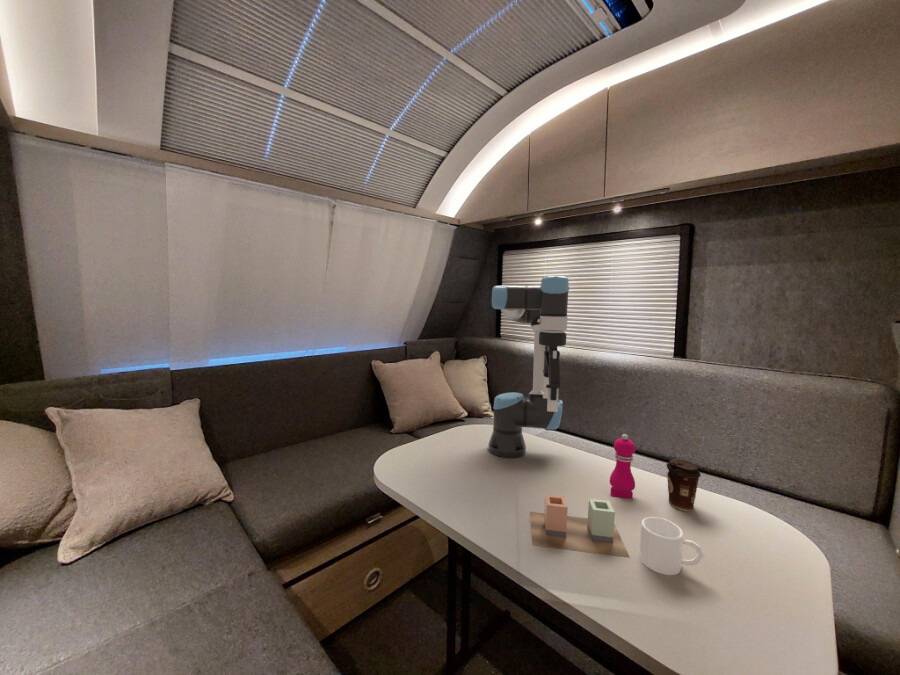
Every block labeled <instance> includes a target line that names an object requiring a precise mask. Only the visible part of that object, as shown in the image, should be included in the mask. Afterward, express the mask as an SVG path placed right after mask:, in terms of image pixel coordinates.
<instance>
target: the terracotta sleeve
mask: <svg viewBox="0 0 900 675" xmlns="http://www.w3.org/2000/svg"><path fill="white" fill-rule="evenodd" d="M568 509H569V508H568V503H567V500H566V497H565V496H562V495H554V494H553V495H552V494H551V495H550V494H544V508H543V510H544V512H543V513H544V528H545V535H548V536H556V537H564V538H566V531H567V516H568Z"/></svg>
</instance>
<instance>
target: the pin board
mask: <svg viewBox="0 0 900 675" xmlns="http://www.w3.org/2000/svg"><path fill="white" fill-rule="evenodd" d="M529 518H530V519H529V520H530V529H531V531H530V532H531V541H532V542H531V543H532V546H536V547H543V548H551V549H552V548H553V549H560V550H565V551H566V550H567V551H574V552H575V551H576V552H583V553H590V554H592V553H593V554H598V555H599V554H600V555H606V556H614V557H615V556H616V557H623V558H629V559H630V558H631V557H630V555H629V552H628V550H627V548H626V546H625V544H624V542H623V539H622V538H621V534H620V533H619V530H618V529H617V527H616V525H615V523H614V535H613V543H608V542H599V541H591V538H590V535H589V532H588V529H587V525H588V517H580V516H571V515H567V531H566V538H564V537H556V536H548V535H545V528H544V512H536V511H529Z"/></svg>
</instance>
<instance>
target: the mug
mask: <svg viewBox="0 0 900 675" xmlns="http://www.w3.org/2000/svg"><path fill="white" fill-rule="evenodd" d="M640 525H641V526H640V537H639V538H640V539H639V552H638V555H639V559H640V561H641V562H642V563H643V565H645V566H646V567H647V569H651V571H654V572H656V573H658V574H661V575H665V576H674V575H675V576H676V575H678V574H679V573H681V568H682V565H685V566H696V565H698V564H699V563H700V562H701V560H702V559H703V558H704V557H705V554H704V552H703V549H702V548H701V546H700V544H697V543H696V542H694V541H693V540H691V539H690V540H689V539H684V531H683V530H682V529H681V528H680V527H679V525H677V524H675V523H674V522H672V521H670V520H669V519H665V518H663V517H658V516H649V517H648V516H647V517H644V518H642V520H641V524H640ZM683 545H687V546H690V547H691V548H693V549H694V550H695V551H696V553H697V555H695V556H694V558H693V559H684V558H682V556H683Z"/></svg>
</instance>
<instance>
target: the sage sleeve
mask: <svg viewBox="0 0 900 675" xmlns="http://www.w3.org/2000/svg"><path fill="white" fill-rule="evenodd" d="M587 506H588V507H587V508H588V510H587V518H588V525H587V529H588V532H589V535H590V538H591V541H599V542H608V543H613V535H614V524H615V516H616V515H615V513H616V512H615V509H614V507H613V506H612V504H611V502H610V500H603V499H602V500H601V499H592V498H588V505H587Z"/></svg>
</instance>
